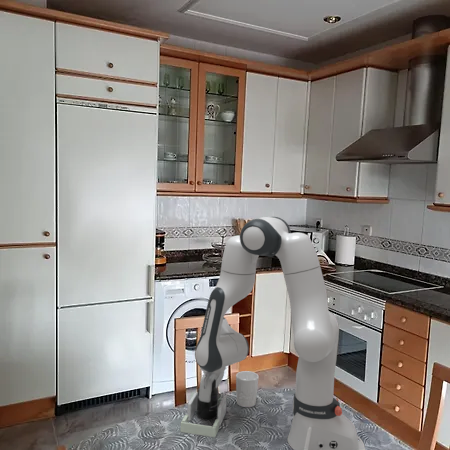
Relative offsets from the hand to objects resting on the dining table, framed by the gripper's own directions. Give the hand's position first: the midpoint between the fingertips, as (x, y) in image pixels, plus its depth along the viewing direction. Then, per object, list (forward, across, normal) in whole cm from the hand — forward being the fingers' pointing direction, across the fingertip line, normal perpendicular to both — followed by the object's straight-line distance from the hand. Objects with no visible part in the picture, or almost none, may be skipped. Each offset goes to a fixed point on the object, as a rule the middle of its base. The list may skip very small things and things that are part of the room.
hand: (211, 402), depth 149 cm
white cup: (+2, +7, -11) cm, 13 cm away
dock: (+2, -14, 0) cm, 15 cm away
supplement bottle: (+2, -6, 0) cm, 6 cm away
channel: (+2, -6, 0) cm, 7 cm away
